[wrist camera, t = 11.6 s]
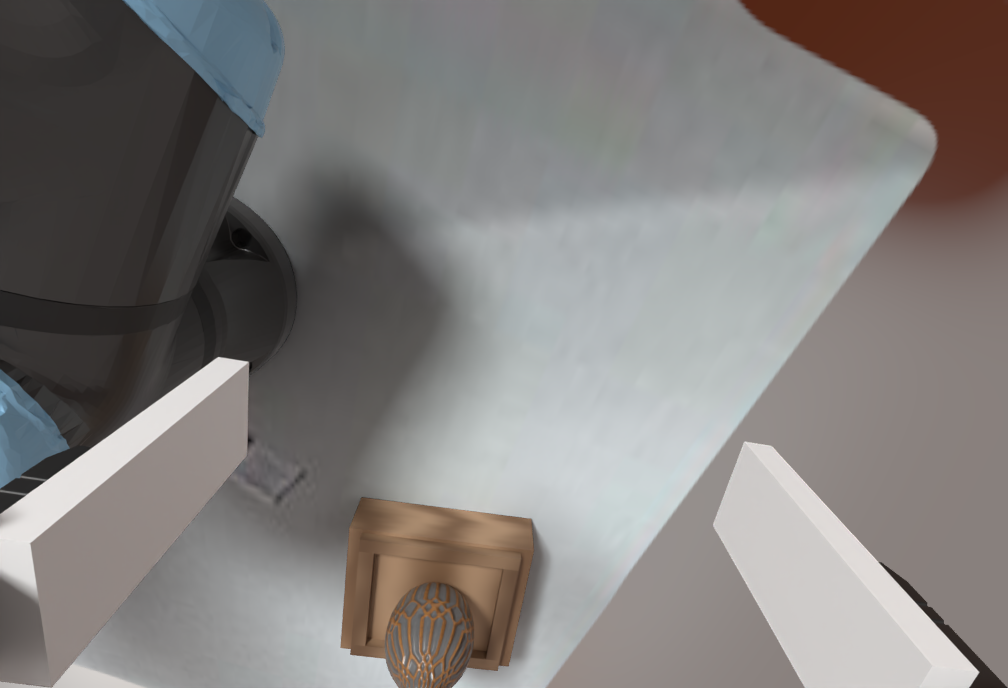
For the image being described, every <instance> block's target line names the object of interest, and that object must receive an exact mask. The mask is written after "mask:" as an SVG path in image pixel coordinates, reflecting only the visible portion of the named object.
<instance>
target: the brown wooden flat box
mask: <svg viewBox="0 0 1008 688" xmlns="http://www.w3.org/2000/svg"><path fill="white" fill-rule="evenodd" d="M533 553H534V546H533V534H532V522H531V519H527V518H520V517H512V516H504V515H496V514H488V513H480V512H472V511H465V510H457V509H449V508H441V507H433V506H425V505H418V504H410V503H402V502H394V501H386V500H378V499H370V498H363V497H362V498H361V500H360V503H359V505H358V508H357V510H356V513H355V515H354V517H353V520H352V522H351V525H350V527H349V539H348V553H347V567H346V580H345V594H344V608H343V622H342V636H341V648H346V649H351V653H350V655H357V656H366V657H375V658H384V659H386V657H385V635H386V630H387V626H388V622H389V619H390V617H391V614H392V612H393V610H394V608H395V606H396V605H397V603H398V602H399V601H400V599H401V598H402V597H403V596H404V595H405V594H406V593H407V592H408V591H409V590H411V589H413V588H414V587H416V586H418V585H421V584H424V583H430V582H439V583H443V584H446V585H449V586H451V587H453V588H454V589H456V590H457V591H458V592H459V593H460V594H461V595H462V596H463V597H464V598H465V600H466V601H467V603H468V605H469V608H470V610H471V613H472V617H473V622H474V646H473V651H472V655H471V658H470V661H469V663H468V666H467V668H475V669H485V670H494V671H498V666H499V665H500V666H509V662H510V658H511V653H512V649H513V644H514V639H515V635H516V630H517V626H518V621H519V617H520V612H521V607H522V603H523V598H524V594H525V589H526V585H527V580H528V576H529V571H530V566H531V562H532V557H533Z"/></svg>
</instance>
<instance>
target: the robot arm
mask: <svg viewBox="0 0 1008 688" xmlns="http://www.w3.org/2000/svg"><path fill="white" fill-rule="evenodd" d="M284 53H285V46H284V38H283V34H282V31H281V28H280V25H279V23H278V21H277V19H276V17H275V16H274V14H273V12H272V11H271V9H270V8H269V6H268V5H267V4H266V3H265V2H264V1H263V0H0V681H1V682H9V683H18V684H26V685H35V686H43V687H53V685H54V684H55V683H56V682H57V681H58V680H59V678H60V677H61V676H62V675H63V674H64V672H65V671H66V670H67V669H68V668H69V666H70V665H71V664H72V663H73V662H74V661H75V659H76V658H77V657H78V656H79V655H80V653H81V652H82V651H83V650H84V649H85V647H86V646H87V645H88V644H89V643H90V642H91V640H92V639H93V638H94V637H95V636H96V634H97V633H98V632H99V631H100V630H101V628H102V627H103V626H104V625H105V624H106V623H107V621H108V620H109V619H110V618H111V617H112V615H113V614H114V613H115V612H116V611H117V609H118V608H119V607H120V606H121V605H122V603H123V602H124V601H125V600H126V599H127V598H128V596H129V595H130V594H131V593H132V592H133V590H134V589H135V588H136V587H137V586H138V584H139V583H140V582H141V581H142V580H143V579H144V577H145V576H146V575H147V574H148V573H149V571H150V570H151V569H152V568H153V567H154V565H155V564H156V563H157V562H158V561H159V560H160V558H161V557H162V556H163V555H164V554H165V552H166V551H167V550H168V549H169V548H170V546H171V545H172V544H173V543H174V542H175V541H176V539H177V538H178V537H179V536H180V535H181V533H182V532H183V531H184V530H185V529H186V527H187V526H188V525H189V524H190V523H191V522H192V520H193V519H194V518H195V517H196V516H197V514H198V513H199V512H200V511H201V510H202V508H203V507H204V506H205V505H206V504H207V502H208V501H209V500H210V499H211V498H212V497H213V495H214V494H215V493H216V492H217V491H218V489H219V488H220V487H221V486H222V485H223V483H224V482H225V481H226V480H227V479H228V478H229V476H230V475H231V474H232V473H233V472H234V470H235V469H236V468H237V467H238V466H239V464H240V463H241V462H242V461H243V460H244V459H245V457H246V456H247V443H248V390H249V375H251V374H252V373H254V372H255V371H257V370H258V369H259V368H260V367H262V366H263V365H264V364H265V363H266V362H267V361H268V360H269V359H270V358H272V357H273V356H274V355H275V354H276V353H277V352H278V350H279V349H280V348H281V347H282V345H283V344H284V342H285V341H286V339H287V337H288V335H289V333H290V331H291V328H292V325H293V322H294V318H295V313H296V304H297V293H296V284H295V278H294V274H293V270H292V267H291V264H290V262H289V259H288V257H287V255H286V252H285V250H284V249H283V247H282V245H281V243H280V242H279V240H278V239H277V237H276V236H275V234H274V233H273V232H272V230H271V229H270V228H269V227H268V225H267V224H266V223H265V222H264V221H263V220H262V219H261V218H260V217H259V216H258V215H257V214H256V213H255V212H254V211H253V210H251V209H250V208H249V207H247V206H246V205H245V204H243V203H242V202H241V201H239V200H238V199H236V198H234V197H233V195H234V193H235V190H236V188H237V186H238V183H239V181H240V178H241V176H242V174H243V171H244V169H245V167H246V164H247V162H248V159H249V157H250V155H251V152H252V150H253V148H254V145H255V143H256V140H257V138H258V136H259V137H263V135H264V132H265V125H264V122H263V119H264V116H265V113H266V110H267V107H268V105H269V102H270V99H271V96H272V93H273V90H274V87H275V85H276V82H277V79H278V76H279V73H280V70H281V67H282V65H283V60H284ZM713 526H714V528H715V530H716V532H717V533H718V535H719V537H720V539H721V540H722V542H723V544H724V546H725V547H726V549H727V551H728V553H729V554H730V556H731V558H732V560H733V562H734V563H735V565H736V567H737V569H738V570H739V572H740V574H741V576H742V577H743V579H744V581H745V583H746V584H747V586H748V588H749V590H750V591H751V593H752V595H753V597H754V599H755V600H756V602H757V604H758V606H759V607H760V609H761V611H762V613H763V614H764V616H765V618H766V620H767V622H768V623H769V625H770V627H771V629H772V630H773V632H774V634H775V636H776V637H777V639H778V641H779V643H780V644H781V646H782V648H783V650H784V652H785V653H786V655H787V657H788V659H789V660H790V662H791V664H792V666H793V668H794V669H795V671H796V673H797V675H798V676H799V678H800V680H801V681H802V683H803V685H804V687H805V688H1007V687H1006V686H1005V685H1004V684H1003V683H1002V682H1001V680H999V678H998V677H997V676H996V675H995V674H994V673H993V672H992V671H991V670H990V669H989V668H988V667H987V666H986V665H985V664H984V662H983V661H982V660H981V659H980V658H979V657H978V656H977V655H976V654H975V653H974V652H973V651H972V650H971V649H970V648H969V647H968V646H967V644H966V643H965V642H964V641H963V640H962V639H961V638H960V637H959V636H958V635H957V634H956V633H955V632H954V631H953V630H952V629H951V628H950V627H949V625H945V624H944V620H943V619H942V618H941V617H940V616H939V615H938V614H937V613H936V612H935V611H934V610H933V608H931V607H928V606H927V602H926V601H925V600H924V599H923V598H922V597H921V596H920V595H919V594H918V593H917V591H915V589H914V588H913V587H912V586H911V585H910V584H909V583H908V582H907V581H906V580H904V579H903V578H902V577H900V576H899V575H897V574H896V573H895V572H893V571H892V570H891V569H889V568H888V567H887V566H885V565H884V564H883V563H881V562H878V561H877V560H876V559H875V558H874V557H873V556H872V555H871V554H870V553H869V552H868V551H867V550H866V548H865V547H864V546H863V545H862V544H861V543H860V542H859V541H858V540H857V539H856V538H855V536H854V535H853V534H852V533H851V532H850V531H849V530H848V529H847V528H846V527H845V526H844V524H843V523H842V522H841V521H840V520H839V519H838V518H837V517H836V516H835V515H834V513H833V512H832V511H831V510H830V509H829V508H828V507H827V506H826V505H825V504H824V503H823V502H822V500H820V498H819V497H818V496H817V495H816V494H815V493H814V492H813V491H812V490H811V489H810V487H809V486H808V485H807V484H806V483H805V482H804V481H803V480H802V479H801V478H800V477H799V475H798V474H797V473H796V472H795V471H794V470H793V469H792V468H791V467H790V466H789V465H788V463H787V462H786V461H785V460H784V459H783V458H782V457H781V456H780V455H779V454H778V453H777V451H776V450H775V449H774V448H773V447H772V446H768V445H762V444H756V443H750V442H744V444H743V446H742V449H741V452H740V455H739V457H738V460H737V462H736V465H735V468H734V471H733V473H732V476H731V478H730V481H729V484H728V486H727V489H726V492H725V494H724V497H723V499H722V502H721V505H720V507H719V510H718V513H717V515H716V518H715V521H714V523H713Z"/></svg>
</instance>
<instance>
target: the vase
mask: <svg viewBox="0 0 1008 688" xmlns="http://www.w3.org/2000/svg"><path fill="white" fill-rule="evenodd" d="M473 646H474V622H473V617H472V613H471V610H470V608H469V605H468V603H467V601H466V600H465V598H464V597H463V596H462V595H461V594H460V593H459V592H458V591H457V590H456V589H454V588H453V587H451V586H449V585H446V584H443V583H439V582H430V583H424V584H421V585H418V586H416V587H414V588H413V589H411V590H409V591H408V592H407V593H406V594H405V595H404V596H403V597H402V598H401V599H400V601H399V602H398V603H397V605H396V606H395V608H394V610H393V612H392V614H391V617H390V619H389V622H388V626H387V630H386V635H385V657H386V663H387V667H388V670H389V672H390V674H391V676H392V678H393V680H394V681H395V683H396V684H397V686H398V687H399V688H452V687H453V686H454V685H455V684H456V683H457V682H458V680H459V679H460V678H461V677H462V675H463V673H464V672H465V670H466V668H467V666H468V663H469V661H470V658H471V655H472V651H473Z"/></svg>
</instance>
